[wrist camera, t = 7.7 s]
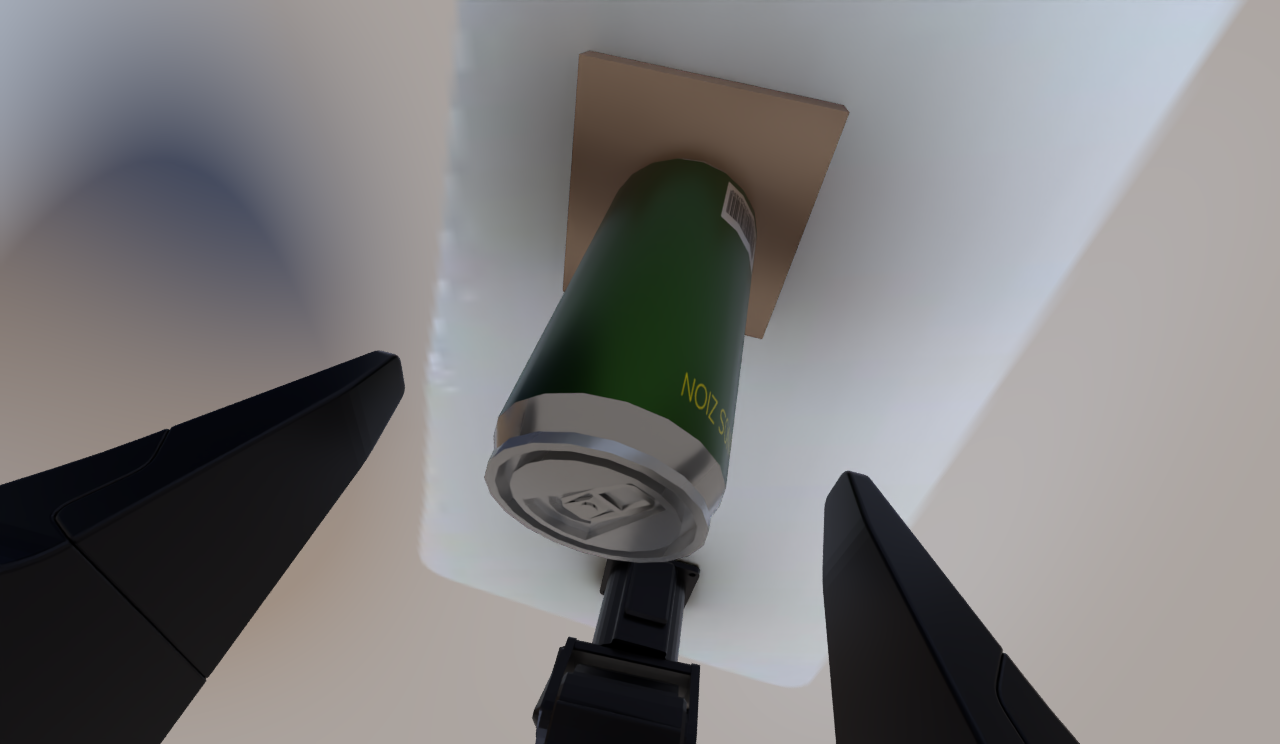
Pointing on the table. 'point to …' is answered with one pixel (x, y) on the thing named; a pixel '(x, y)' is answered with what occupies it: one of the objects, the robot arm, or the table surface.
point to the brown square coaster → (700, 154)
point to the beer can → (636, 375)
